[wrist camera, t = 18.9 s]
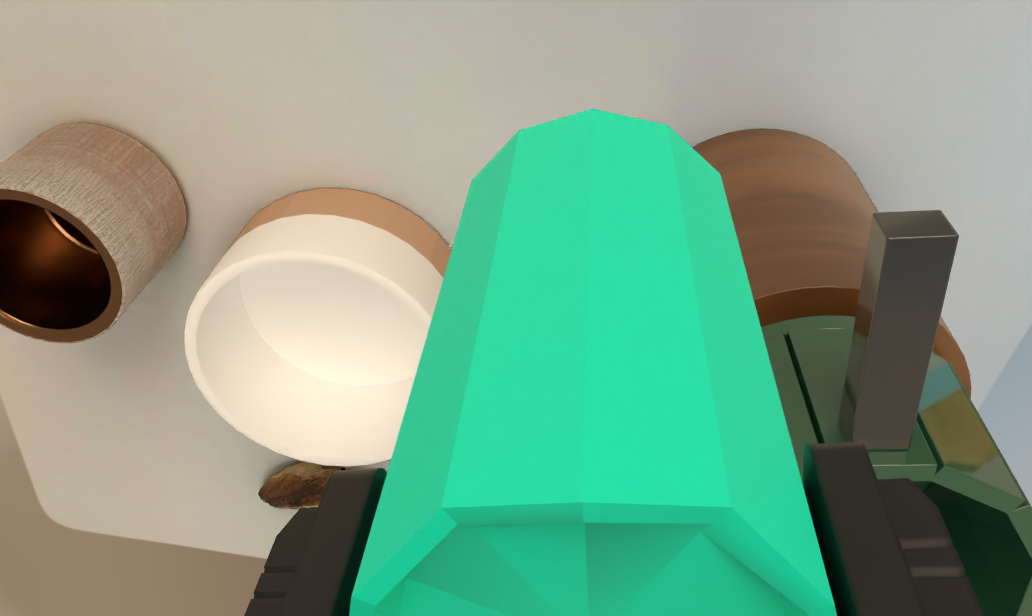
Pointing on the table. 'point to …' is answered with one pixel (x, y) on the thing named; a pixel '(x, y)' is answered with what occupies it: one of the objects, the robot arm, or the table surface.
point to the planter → (82, 230)
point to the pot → (909, 402)
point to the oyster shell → (296, 486)
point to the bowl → (318, 325)
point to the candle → (594, 403)
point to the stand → (801, 227)
